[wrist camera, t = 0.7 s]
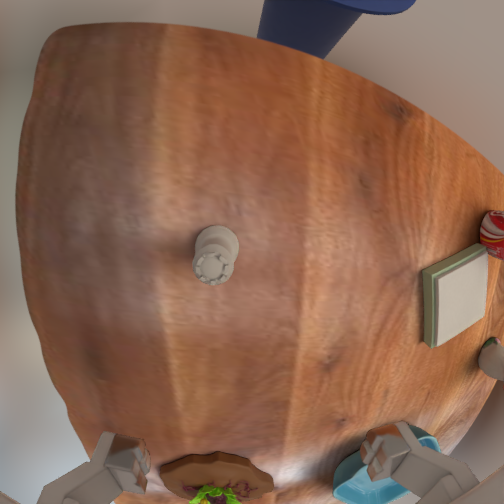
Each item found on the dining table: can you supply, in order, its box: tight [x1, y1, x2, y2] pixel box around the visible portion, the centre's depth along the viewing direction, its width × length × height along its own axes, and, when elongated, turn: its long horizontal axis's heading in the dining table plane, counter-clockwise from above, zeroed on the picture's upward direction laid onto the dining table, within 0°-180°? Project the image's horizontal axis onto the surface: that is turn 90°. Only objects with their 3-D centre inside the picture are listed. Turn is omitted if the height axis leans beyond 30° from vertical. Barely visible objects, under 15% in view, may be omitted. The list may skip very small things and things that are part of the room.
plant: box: [159, 452, 274, 504], centre depth 34 cm, size 20×20×11 cm
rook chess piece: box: [192, 225, 239, 285], centre depth 25 cm, size 4×4×8 cm
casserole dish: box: [333, 425, 441, 504], centre depth 39 cm, size 37×22×7 cm, turn 36°
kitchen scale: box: [422, 243, 488, 349], centre depth 31 cm, size 12×12×3 cm
